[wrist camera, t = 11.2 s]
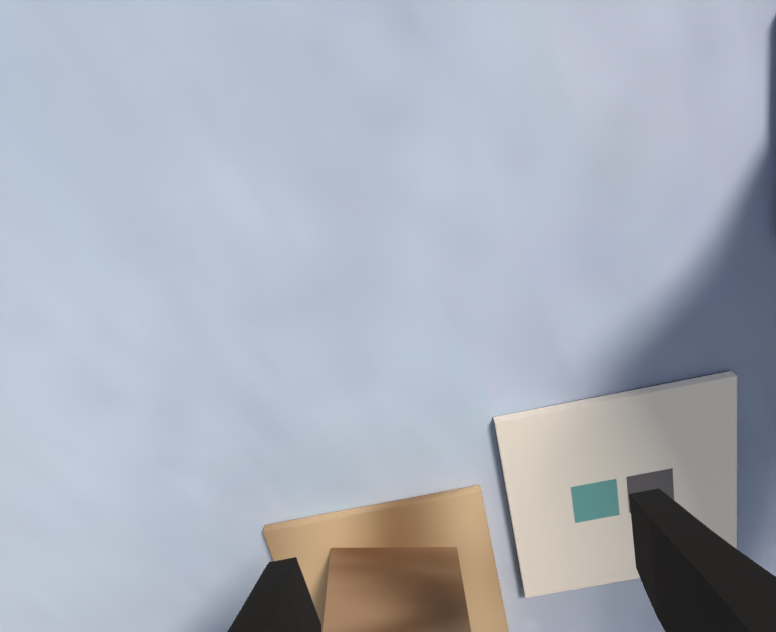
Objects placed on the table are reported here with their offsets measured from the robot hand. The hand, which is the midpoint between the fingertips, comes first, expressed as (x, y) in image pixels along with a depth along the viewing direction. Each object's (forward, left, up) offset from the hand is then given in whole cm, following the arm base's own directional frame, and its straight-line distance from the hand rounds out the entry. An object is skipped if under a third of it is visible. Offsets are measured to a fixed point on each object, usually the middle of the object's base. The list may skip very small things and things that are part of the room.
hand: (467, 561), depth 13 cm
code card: (-6, +7, -10) cm, 14 cm away
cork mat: (+4, +10, -10) cm, 15 cm away
